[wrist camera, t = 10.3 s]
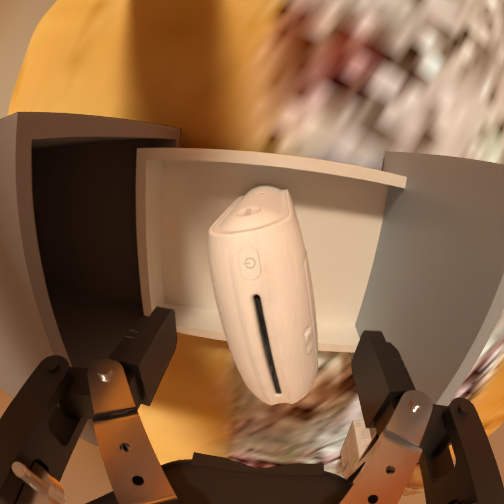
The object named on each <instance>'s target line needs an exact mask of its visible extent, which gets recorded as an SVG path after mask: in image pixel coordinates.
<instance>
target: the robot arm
mask: <svg viewBox="0 0 504 504" xmlns="http://www.w3.org/2000/svg"><path fill="white" fill-rule="evenodd" d="M176 345H177V331H176V318H175V311H174V309H170V308H164V307H159V306H157V307H155V309H154V310H153V312H152V313H151V315H150V316H145V315H144V316H142V317H141V318H139V319H138V320H136V321H135V322H134V323H133V324H132V326H131V327H130V329H129V330H128V331H127V333H126V334H125V337H123V338H122V340H121V341H120V342H119V344H118V345H117V347H116V348H115V350H114V351H113V352H112V354H111V355H110V357H109V358H108V359H101V360H98V361H96V362H94V363H93V364H92V365H91V366H90V367H89V368H78V367H70V365H69V363H68V361H67V360H66V358H64V357H62V356H59V355H52V356H48V357H46V358H45V359H43V360H42V361H41V362H40V363H39V365H38V366H37V367H36V369H35V370H34V371H33V373H32V374H31V375H30V377H29V378H28V379H27V381H26V382H25V383H24V385H23V386H22V388H21V389H20V390H19V392H18V393H17V395H16V396H15V397H14V399H13V401H12V402H11V403H10V405H9V406H8V408H7V409H6V411H5V412H4V414H3V415H2V417H1V419H0V504H64V502H65V499H64V496H65V494H64V489H63V487H62V485H61V484H60V480H61V477H62V474H63V472H64V470H65V468H66V465H67V463H68V461H69V459H70V456H71V454H72V452H73V450H74V448H75V445H76V443H77V441H78V439H79V437H80V435H81V433H82V431H83V429H84V427H85V424H86V422H87V420H88V419H93V426H94V430H95V434H96V438H97V442H98V445H99V449H100V452H101V456H102V459H103V462H104V465H105V468H106V471H107V474H108V477H109V480H110V483H111V486H112V488H113V491H112V492H110V493H108V494H106V495H104V496H102V497H99V498H97V499H95V500H93V501H90V502H88V503H86V504H397V503H398V502H399V500H400V498H401V496H402V494H403V492H404V490H405V488H406V487H407V485H408V483H409V480H410V478H411V476H412V474H413V472H414V470H415V468H416V465H417V463H418V461H419V465H420V470H421V475H422V480H423V486H424V492H425V497H426V504H504V487H503V483H502V480H501V476H500V473H499V470H498V466H497V463H496V460H495V457H494V454H493V451H492V449H491V446H490V443H489V440H488V438H487V435H486V433H485V430H484V428H483V425H482V423H481V420H480V418H479V416H478V413H477V411H476V409H475V407H474V405H473V404H472V403H471V402H470V401H469V400H467V399H465V398H455V399H453V400H452V401H451V403H450V404H449V405H448V406H444V405H437V404H432V401H431V399H430V398H429V397H428V396H427V395H426V394H425V393H423V392H421V391H417V390H416V389H415V387H414V384H413V382H412V380H411V377H410V375H409V373H408V371H407V368H406V367H405V364H404V362H403V360H402V358H401V355H400V353H399V351H398V349H397V348H396V347H395V346H393V345H392V344H391V343H390V342H386V340H385V338H384V335H383V333H382V332H381V331H373V330H364V331H363V332H362V335H361V337H360V340H359V343H358V345H357V348H356V350H355V353H354V355H353V359H352V372H353V376H354V380H355V384H356V388H357V392H358V396H359V401H360V405H361V409H362V414H363V418H364V423H365V427H366V428H376V434H375V435H374V436H373V438H372V440H371V441H370V443H369V444H368V446H367V448H366V449H365V451H364V452H363V454H362V455H361V457H360V458H359V460H358V461H357V463H356V464H355V466H354V467H353V468H352V470H351V471H350V472H349V473H348V474H347V476H346V477H345V478H343V477H341V476H338V475H336V474H333V473H330V472H326V471H324V463H323V464H288V465H282V466H276V467H269V468H262V469H259V468H254V467H251V466H248V465H245V464H242V463H239V462H236V461H233V460H230V459H228V458H223V457H217V456H211V455H206V454H200V453H195V452H194V454H193V458H192V459H186V460H178V461H173V462H169V463H166V464H163V465H160V463H159V461H158V459H157V457H156V454H155V452H154V450H153V448H152V446H151V443H150V441H149V439H148V436H147V434H146V431H145V429H144V427H143V424H142V422H141V419H140V416H139V414H138V411H137V410H138V408H139V406H140V404H144V405H147V406H150V404H151V402H152V400H153V397H154V395H155V393H156V391H157V389H158V386H159V384H160V382H161V380H162V378H163V375H164V373H165V371H166V369H167V367H168V365H169V362H170V360H171V358H172V356H173V354H174V352H175V349H176ZM451 444H452V447H453V451H454V454H455V457H456V464H455V467H454V464H453V460H452V457H451V453H450V450H449V446H450V445H451Z"/></svg>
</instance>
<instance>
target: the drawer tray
mask: <svg viewBox="0 0 504 504" xmlns="http://www.w3.org/2000/svg"><path fill="white" fill-rule="evenodd" d="M264 184H269V185H274V186H277V187H279V188H281V189H284V188H287V189H288V191H289V193H290V195H291V198H292V201H293V204H294V208H295V211H296V215H297V219H298V223H299V226H300V230H301V234H302V238H303V242H304V246H305V249H306V251H307V258H308V263H309V267H310V273H311V280H312V286H313V294H314V302H315V310H316V321H317V334H318V351H332V352H350V356H351V359H353V355H354V353H355V350H356V348H357V345H358V343H359V340H360V337H361V335H362V332H363V331H364V330H373V331H381V332H382V333H383V335H384V338H385V340H386V342H390V343H391V344H392V345H393V346H395V347H396V348H397V349H398V351H399V353H400V355H401V358H402V360H403V362H404V364H405V367H406V368H407V371H408V373H409V375H410V377H411V380H412V382H413V384H414V387H415V389H416V390H417V391H421V392H423V393H425V394H426V395H427V396H428V397H429V398H430V399H431V401H432V404H437V405H444V406H447V404H448V403H449V402H450V400H451V399H452V398H453V396H454V395H455V393H456V392H457V391H458V389H459V388H460V386H461V385H462V383H463V382H464V380H465V379H466V377H467V376H468V374H469V372H470V371H471V369H472V368H473V366H474V364H475V363H476V361H477V359H478V357H479V356H480V354H481V352H482V350H483V349H484V347H485V345H486V343H487V341H488V339H489V337H490V335H491V333H492V331H493V329H494V327H495V325H496V323H497V321H498V319H499V317H500V314H501V312H502V310H503V308H504V165H503V164H498V163H492V162H486V161H480V160H473V159H466V158H458V157H450V156H441V155H431V154H419V153H404V152H385V157H384V165H383V171H380V170H375V169H370V168H365V167H360V166H355V165H349V164H344V163H338V162H332V161H326V160H319V159H312V158H305V157H298V156H290V155H282V154H272V153H262V152H251V151H239V150H224V149H204V148H137V158H136V228H137V249H138V263H139V275H140V286H141V295H142V304H143V312H144V315H145V316H150V315H151V313H152V312H153V310H154V309H155V307H157V306H159V307H164V308H170V309H174V311H175V318H176V331H177V333H182V334H187V335H193V336H198V337H204V338H210V339H217V340H223V341H227V340H226V337H225V334H224V330H223V327H222V324H221V320H220V316H219V313H218V309H217V305H216V300H215V295H214V291H213V285H212V280H211V274H210V267H209V260H208V231H209V228H210V227H211V226H212V225H213V224H214V223H215V221H216V220H217V219H218V218H219V217H220V216H221V215H222V214H223V213H224V212H225V211H226V209H227V208H228V207H230V205H231V204H232V203H233V202H234V201H235V200H236V199H237V198H238V197H240V196H244V195H246V194H247V193H248V192H249V191H250V190H251V189H252V188H254V187H256V186H259V185H264ZM369 430H370V435H371V439H372V438H373V436H374V435H375V434H376V428H369Z"/></svg>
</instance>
